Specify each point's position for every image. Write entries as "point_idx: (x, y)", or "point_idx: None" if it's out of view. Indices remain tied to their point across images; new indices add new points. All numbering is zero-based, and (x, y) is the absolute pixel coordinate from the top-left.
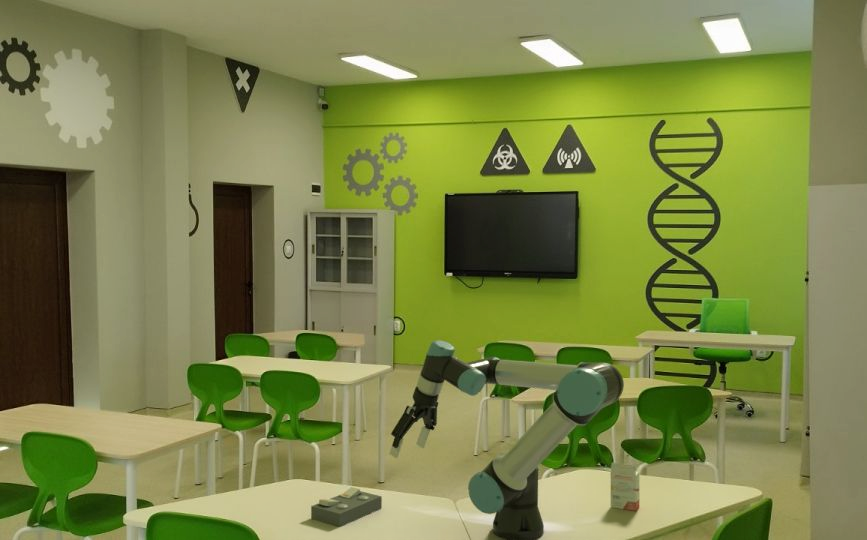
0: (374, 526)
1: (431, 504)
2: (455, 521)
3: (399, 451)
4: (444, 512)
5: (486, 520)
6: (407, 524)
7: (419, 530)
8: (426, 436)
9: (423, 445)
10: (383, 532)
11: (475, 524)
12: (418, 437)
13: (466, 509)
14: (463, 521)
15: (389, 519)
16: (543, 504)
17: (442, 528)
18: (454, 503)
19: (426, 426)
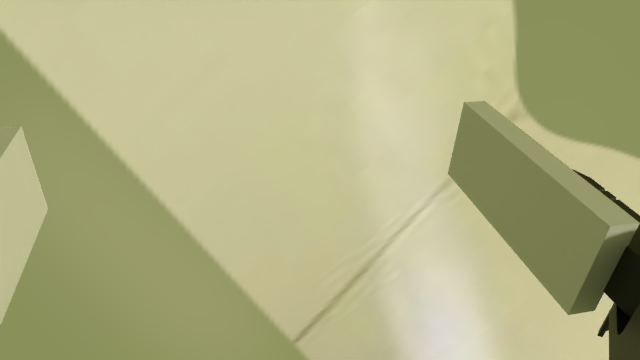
0: (101, 32)
1: (446, 60)
2: (353, 247)
3: (27, 257)
4: (404, 157)
5: (421, 316)
6: (215, 129)
7: (196, 208)
8: (517, 251)
9: (462, 188)
10: (77, 111)
11: (370, 314)
12: (504, 138)
13: None
14: (369, 267)
15: (209, 30)
16: None
17: (268, 257)
18: None
19: (630, 268)
